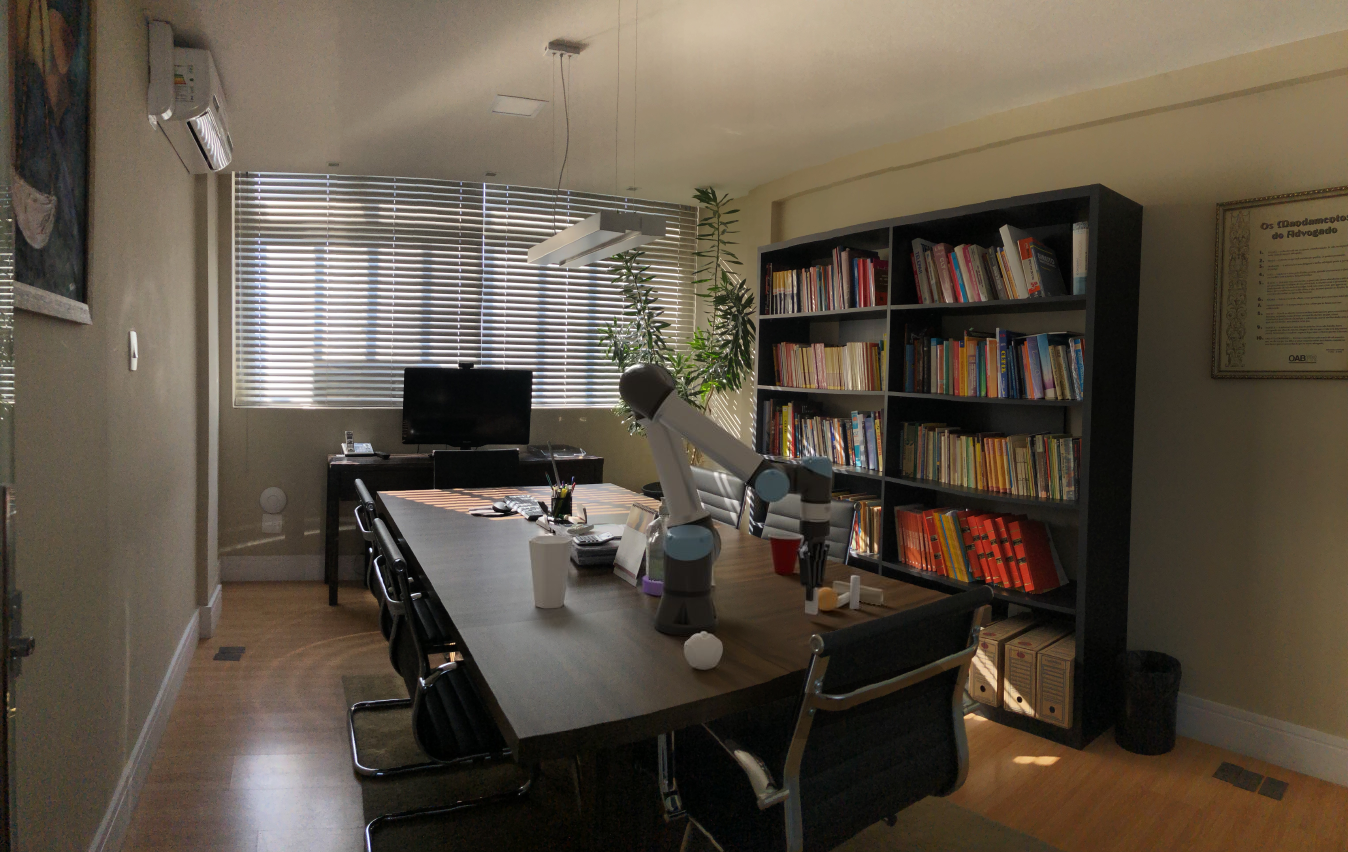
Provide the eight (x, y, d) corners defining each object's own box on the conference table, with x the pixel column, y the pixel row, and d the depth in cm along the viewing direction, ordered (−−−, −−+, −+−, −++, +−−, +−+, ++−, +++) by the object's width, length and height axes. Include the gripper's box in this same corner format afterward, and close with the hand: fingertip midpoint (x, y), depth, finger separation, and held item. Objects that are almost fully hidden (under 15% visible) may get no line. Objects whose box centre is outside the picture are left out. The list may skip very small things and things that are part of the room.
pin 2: (854, 609, 210) (856, 577, 210) (847, 607, 212) (848, 575, 212) (860, 608, 212) (862, 576, 211) (853, 606, 214) (855, 574, 213)
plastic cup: (800, 569, 255) (802, 531, 254) (802, 577, 244) (804, 538, 243) (766, 567, 256) (767, 530, 255) (766, 575, 245) (768, 536, 244)
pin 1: (834, 596, 212) (847, 590, 219) (830, 603, 213) (843, 597, 220) (841, 602, 211) (854, 595, 218) (837, 609, 212) (850, 602, 219)
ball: (841, 603, 211) (836, 615, 206) (819, 602, 214) (813, 614, 209) (838, 583, 209) (833, 595, 204) (816, 582, 212) (810, 594, 207)
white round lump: (720, 662, 168) (721, 626, 168) (724, 675, 160) (725, 637, 160) (682, 661, 168) (683, 625, 167) (684, 675, 160) (685, 636, 160)
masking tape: (647, 597, 217) (648, 583, 217) (638, 586, 229) (638, 573, 228) (689, 595, 221) (689, 581, 220) (677, 585, 232) (678, 571, 232)
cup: (560, 612, 200) (562, 544, 199) (522, 609, 202) (523, 542, 201) (575, 600, 211) (576, 536, 210) (538, 597, 213) (540, 533, 212)
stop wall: (879, 605, 215) (880, 591, 215) (832, 595, 224) (832, 581, 223) (882, 604, 217) (883, 589, 216) (835, 594, 225) (836, 580, 225)
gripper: (815, 524, 191) (811, 621, 192) (840, 517, 201) (837, 610, 202) (788, 520, 196) (784, 615, 197) (814, 514, 206) (810, 604, 207)
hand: (811, 612), depth 200 cm, fingers closed
